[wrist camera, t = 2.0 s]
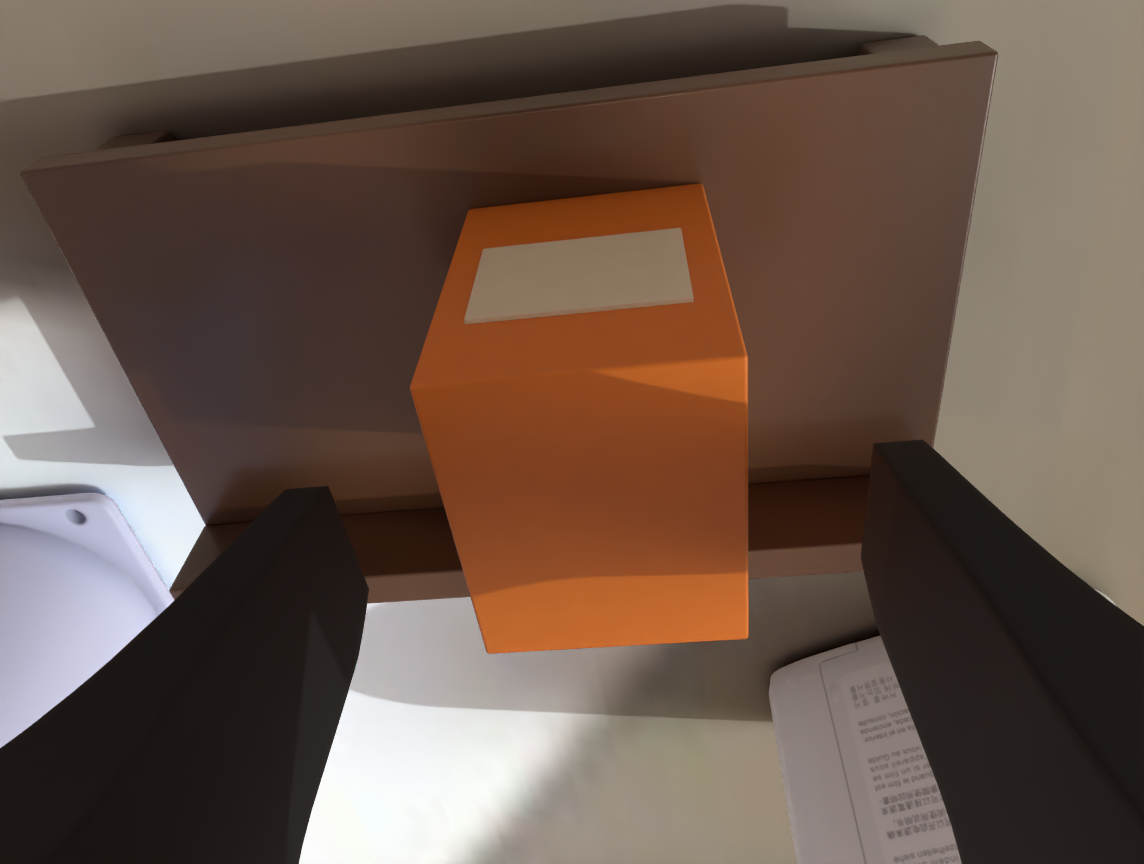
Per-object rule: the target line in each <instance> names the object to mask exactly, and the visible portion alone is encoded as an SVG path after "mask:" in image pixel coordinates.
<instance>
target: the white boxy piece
mask: <svg viewBox="0 0 1144 864" xmlns="http://www.w3.org/2000/svg"><path fill="white" fill-rule="evenodd" d="M1093 589H1095V588H1093ZM1095 590H1096V591H1097V592H1098V593H1100V594H1101V595H1102V596H1104V597H1105V598H1106V599H1108V600H1109V601H1110V602H1112V603H1113V604H1114V605H1115V603H1114V602H1113V601H1112V600H1111V599H1110V598H1109V597H1108V596H1106V595H1105V594H1103V593H1102V592H1100V591H1099V590H1097V589H1095ZM1115 606H1116V605H1115ZM769 700H770V706H771V712H772V718H773V724H774V730H775V737H776V743H777V749H778V755H779V761H780V767H781V773H782V779H783V785H784V791H785V797H786V802H787V808H788V813H789V819H790V826H791V832H792V838H793V844H794V850H795V856H796V862H797V864H962V863H961V859H960V855H959V852H958V848H957V844H956V841H955V837H954V834H953V830H952V826H951V823H950V820H949V817H948V814H947V811H946V808H945V805H944V802H943V799H942V796H941V793H940V790H939V787H938V785H937V782H936V780H935V777H934V774H933V772H932V769H931V767H930V764H929V761H928V759H927V756H926V754H925V751H924V748H923V746H922V743H921V741H920V738H919V735H918V733H917V730H916V728H915V725H914V722H913V720H912V717H911V715H910V712H909V709H908V707H907V704H906V702H905V699H904V696H903V694H902V691H901V689H900V686H899V683H898V681H897V678H896V675H895V673H894V670H893V668H892V665H891V662H890V660H889V657H888V654H887V652H886V649H885V646H884V644H883V641H882V638H881V636H877V637H873V638H870V639H867V640H863V641H860V642H856V643H852V644H848V645H845V646H842V647H839V648H836V649H832V650H829V651H826V652H823V653H820V654H817V655H814V656H811V657H807V658H805V659H802V660H799V661H797V662H794V663H792V664H789V665H787V666H785V667H782V668H780V669H778V670H777V671H775V672H774V673H773V674H772V676H771V678H770V687H769Z"/></svg>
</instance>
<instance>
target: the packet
mask: <svg viewBox="0 0 1144 864" xmlns="http://www.w3.org/2000/svg"><path fill="white" fill-rule="evenodd" d="M410 391H411V395H412V398H413V401H414V405H415V408H416V412H417V415H418V419H419V422H420V425H421V429H422V432H423V436H424V439H425V443H426V446H427V449H428V453H429V456H430V460H431V463H432V466H433V470H434V473H435V477H436V480H437V484H438V487H439V490H440V494H441V497H442V501H443V504H444V508H445V511H446V514H447V518H448V521H449V525H450V528H451V532H452V535H453V538H454V542H455V545H456V549H457V552H458V556H459V559H460V562H461V566H462V569H463V573H464V576H465V580H466V583H467V586H468V590H469V593H470V597H471V600H472V604H473V607H474V610H475V614H476V617H477V621H478V624H479V628H480V631H481V634H482V638H483V641H484V645H485V648H486V651H487V653H489V654H491V653H509V652H526V651H543V650H561V649H578V648H595V647H613V646H630V645H648V644H665V643H682V642H700V641H717V640H735V639H746V638H748V356H747V352H746V348H745V345H744V341H743V337H742V333H741V329H740V325H739V321H738V318H737V314H736V310H735V306H734V302H733V298H732V295H731V291H730V287H729V283H728V279H727V275H726V272H725V268H724V264H723V260H722V256H721V252H720V248H719V245H718V241H717V237H716V233H715V229H714V225H713V222H712V218H711V214H710V210H709V206H708V202H707V199H706V195H705V191H704V187H703V185H702V184H700V183H699V184H690V185H682V186H673V187H664V188H655V189H646V190H637V191H628V192H619V193H610V194H601V195H592V196H583V197H574V198H565V199H556V200H547V201H538V202H529V203H520V204H511V205H503V206H494V207H485V208H476V209H470V210H468V213H467V216H466V219H465V222H464V225H463V228H462V231H461V234H460V237H459V240H458V243H457V246H456V249H455V252H454V255H453V258H452V261H451V264H450V267H449V270H448V273H447V276H446V279H445V282H444V285H443V288H442V291H441V294H440V297H439V300H438V303H437V306H436V309H435V313H434V316H433V319H432V322H431V325H430V328H429V331H428V334H427V337H426V340H425V343H424V346H423V349H422V352H421V355H420V358H419V361H418V364H417V367H416V370H415V373H414V376H413V379H412V382H411V385H410Z"/></svg>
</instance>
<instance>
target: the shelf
mask: <svg viewBox="0 0 1144 864" xmlns="http://www.w3.org/2000/svg"><path fill="white" fill-rule="evenodd" d="M997 59H998V52H997V51H995V50H994V49H992V48H990V47H989V46H987V45H986V44H984V43H983V42H981V41H973V42H965V43H957V44H949V45H941V46H939V45H938V44H936V43H935V42H934V41H932V40H931V39H929V38H928V37H927V36H924V35H923V36H915V37H907V38H899V39H891V40H883V41H875V42H867V43H863V44H861V45H860V48H859V56H853V57H845V58H837V59H829V60H821V61H813V62H805V63H797V64H789V65H781V66H772V67H764V68H756V69H748V70H740V71H732V72H724V73H716V74H708V75H700V76H692V77H684V78H676V79H668V80H660V81H652V82H644V83H636V84H628V85H620V86H612V87H604V88H596V89H588V90H580V91H572V92H564V93H556V94H548V95H540V96H532V97H524V98H516V99H507V100H499V101H491V102H483V103H475V104H467V105H459V106H451V107H443V108H435V109H427V110H419V111H411V112H403V113H395V114H387V115H379V116H371V117H363V118H355V119H347V120H339V121H331V122H323V123H315V124H307V125H299V126H291V127H283V128H275V129H267V130H259V131H250V132H242V133H234V134H226V135H218V136H210V137H202V138H194V139H186V140H178V141H174V139H173V136H172V134H171V132H170V131H169V130H164V131H157V132H149V133H141V134H133V135H125V136H117V137H114V138H112V139H111V140H109V141H108V142H106V143H105V144H103V145H102V146H101V147H99V148H98V149H96V150H95V151H90V152H82V153H74V154H66V155H58V156H50V157H44V158H42V159H40V160H39V161H37V162H36V163H34V164H32V165H31V166H29V167H28V168H26V169H25V170H23V171H22V172H21V177H22V179H23V180H24V182H25V184H26V186H27V188H28V190H29V192H30V194H31V196H32V197H33V199H34V201H35V203H36V205H37V207H38V209H39V211H40V213H41V214H42V216H43V218H44V220H45V222H46V224H47V226H48V228H49V230H50V231H51V233H52V235H53V237H54V239H55V241H56V243H57V245H58V247H59V249H60V250H61V252H62V254H63V256H64V258H65V260H66V262H67V264H68V266H69V267H70V269H71V271H72V273H73V275H74V277H75V279H76V281H77V283H78V284H79V286H80V288H81V290H82V292H83V294H84V296H85V298H86V300H87V301H88V303H89V305H90V307H91V309H92V311H93V313H94V315H95V317H96V319H97V320H98V322H99V324H100V326H101V328H102V330H103V332H104V334H105V336H106V337H107V339H108V341H109V343H110V345H111V347H112V349H113V351H114V353H115V354H116V356H117V358H118V360H119V362H120V364H121V366H122V368H123V370H124V371H125V373H126V375H127V377H128V379H129V381H130V383H131V385H132V387H133V389H134V390H135V392H136V394H137V396H138V398H139V400H140V402H141V404H142V406H143V407H144V409H145V411H146V413H147V415H148V417H149V419H150V421H151V423H152V424H153V426H154V428H155V430H156V432H157V434H158V436H159V438H160V440H161V441H162V443H163V445H164V447H165V449H166V451H167V453H168V455H169V457H170V459H171V460H172V462H173V464H174V466H175V468H176V470H177V472H178V474H179V476H180V477H181V479H182V481H183V483H184V485H185V487H186V489H187V491H188V493H189V494H190V496H191V498H192V500H193V502H194V504H195V506H196V508H197V510H198V512H199V513H200V515H201V517H202V519H203V521H204V523H205V525H206V526H205V527H204V528H203V530H202V532H201V534H200V536H199V537H198V539H197V541H196V543H195V545H194V546H193V548H192V550H191V552H190V554H189V556H188V557H187V559H186V561H185V563H184V565H183V566H182V568H181V570H180V572H179V574H178V575H177V577H176V579H175V581H174V583H173V584H172V586H171V588H170V593H171V595H172V597H173V598H174V600H175V599H176V598H177V597H178V596H179V595H180V594H181V593H182V592H183V591H184V590H185V589H186V588H187V587H188V586H189V585H190V584H191V583H192V582H193V581H194V580H195V579H196V578H197V577H198V576H199V575H200V574H201V573H202V572H203V571H204V570H205V569H206V568H207V567H208V566H209V565H210V564H211V563H212V562H213V561H214V560H215V559H216V558H217V557H218V556H219V555H220V554H221V553H222V552H223V551H224V550H225V549H226V548H227V547H228V546H229V545H230V544H231V543H232V542H233V541H234V540H235V539H236V538H237V537H238V536H239V535H240V534H241V533H242V532H243V531H244V530H245V529H246V528H247V527H248V526H249V525H250V524H251V523H252V521H253V520H254V519H255V518H256V517H257V516H258V515H259V514H260V513H261V512H262V511H263V510H264V509H265V508H266V507H267V506H268V505H269V504H270V503H271V502H272V501H274V500H275V499H276V498H277V497H278V496H279V495H280V494H281V493H282V492H283V491H284V490H285V489H294V488H307V487H320V486H329V489H330V491H331V494H332V496H333V499H334V501H335V504H336V507H337V509H338V512H339V514H340V517H341V519H342V522H343V524H344V527H345V529H346V532H347V534H348V537H349V539H350V542H351V545H352V547H353V550H354V552H355V555H356V557H357V560H358V562H359V565H360V567H361V570H362V572H363V575H364V577H365V580H366V582H367V585H368V588H369V594H368V601H367V603H382V602H398V601H413V600H429V599H444V598H460V597H470V593H469V590H468V586H467V583H466V580H465V576H464V573H463V569H462V566H461V562H460V559H459V556H458V552H457V549H456V545H455V542H454V538H453V535H452V532H451V528H450V525H449V521H448V518H447V514H446V511H445V508H444V504H443V501H442V497H441V494H440V490H439V487H438V484H437V480H436V477H435V473H434V470H433V466H432V463H431V460H430V456H429V453H428V449H427V446H426V443H425V439H424V436H423V432H422V429H421V425H420V422H419V419H418V415H417V412H416V408H415V405H414V401H413V398H412V395H411V391H410V385H411V382H412V379H413V376H414V373H415V370H416V367H417V364H418V361H419V358H420V355H421V352H422V349H423V346H424V343H425V340H426V337H427V334H428V331H429V328H430V325H431V322H432V319H433V316H434V313H435V309H436V306H437V303H438V300H439V297H440V294H441V291H442V288H443V285H444V282H445V279H446V276H447V273H448V270H449V267H450V264H451V261H452V258H453V255H454V252H455V249H456V246H457V243H458V240H459V237H460V234H461V231H462V228H463V225H464V222H465V219H466V216H467V213H468V210H470V209H476V208H485V207H494V206H503V205H511V204H520V203H529V202H538V201H547V200H556V199H565V198H574V197H583V196H592V195H601V194H610V193H619V192H628V191H637V190H646V189H655V188H664V187H673V186H682V185H690V184H699V183H700V184H702V185H703V187H704V191H705V195H706V199H707V202H708V206H709V210H710V214H711V218H712V222H713V225H714V229H715V233H716V237H717V241H718V245H719V248H720V252H721V256H722V260H723V264H724V268H725V272H726V275H727V279H728V283H729V287H730V291H731V295H732V298H733V302H734V306H735V310H736V314H737V318H738V321H739V325H740V329H741V333H742V337H743V341H744V345H745V348H746V352H747V356H748V579H754V578H769V577H785V576H800V575H816V574H831V573H847V572H862V571H864V570H863V566H862V561H861V550H862V541H863V532H864V523H865V514H866V505H867V496H868V487H869V478H870V469H871V460H872V451H873V443H884V442H897V441H910V440H924V441H925V442H926V443H928V444H929V445H930V446H931V447H932V448H933V446H934V440H935V434H936V428H937V422H938V416H939V410H940V403H941V397H942V391H943V385H944V379H945V373H946V367H947V361H948V355H949V349H950V343H951V337H952V331H953V325H954V319H955V313H956V307H957V301H958V295H959V289H960V283H961V277H962V270H963V264H964V258H965V252H966V246H967V240H968V234H969V228H970V222H971V216H972V210H973V204H974V198H975V192H976V186H977V180H978V174H979V168H980V162H981V156H982V150H983V143H984V137H985V131H986V125H987V119H988V113H989V107H990V101H991V95H992V89H993V83H994V77H995V71H996V65H997Z"/></svg>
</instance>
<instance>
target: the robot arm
mask: <svg viewBox="0 0 1144 864" xmlns="http://www.w3.org/2000/svg"><path fill="white" fill-rule="evenodd" d="M78 511H79V512H78ZM80 512H81V513H80ZM861 561H862V566H863V570H864V574H865V579H866V583H867V587H868V591H869V596H870V600H871V604H872V607H873V611H874V615H875V619H876V623H877V627H878V630H879V633H880V636H881V638H882V641H883V644H884V646H885V649H886V652H887V654H888V657H889V660H890V662H891V665H892V668H893V670H894V673H895V675H896V678H897V681H898V683H899V686H900V689H901V691H902V694H903V696H904V699H905V702H906V704H907V707H908V709H909V712H910V715H911V717H912V720H913V722H914V725H915V728H916V730H917V733H918V735H919V738H920V741H921V743H922V746H923V748H924V751H925V754H926V756H927V759H928V761H929V764H930V767H931V769H932V772H933V774H934V777H935V780H936V782H937V785H938V787H939V790H940V793H941V796H942V799H943V802H944V805H945V808H946V811H947V814H948V817H949V820H950V823H951V826H952V830H953V834H954V837H955V841H956V844H957V848H958V852H959V855H960V859H961V863H962V864H1144V626H1143V625H1141V624H1140V623H1138V622H1137V621H1136V620H1134V619H1133V618H1131V617H1130V616H1129V615H1127V614H1126V613H1125V612H1123V611H1122V610H1121V609H1119V608H1118V607H1117V606H1115V605H1114V604H1113V603H1112V602H1110V601H1109V600H1108V599H1106V598H1105V597H1104V596H1102V595H1101V594H1100V593H1098V592H1097V591H1096V590H1095V589H1093V588H1092V587H1091V586H1089V585H1088V584H1087V583H1085V582H1084V581H1083V580H1082V579H1080V578H1079V577H1078V576H1076V575H1075V574H1074V573H1073V572H1072V571H1070V570H1069V569H1068V568H1067V567H1065V566H1064V565H1063V564H1062V563H1060V562H1059V561H1058V560H1057V559H1056V558H1055V557H1053V556H1052V555H1051V554H1050V553H1049V552H1048V551H1046V550H1045V549H1044V548H1043V547H1042V546H1040V545H1039V544H1038V543H1037V542H1036V541H1035V540H1033V539H1032V538H1031V537H1030V536H1029V535H1028V534H1026V533H1025V532H1024V531H1023V530H1022V529H1021V528H1019V527H1018V526H1017V525H1016V524H1015V523H1014V522H1013V521H1011V520H1010V519H1009V518H1008V517H1007V516H1006V515H1005V514H1004V513H1003V512H1001V511H1000V510H999V509H998V508H997V507H996V506H995V505H994V504H993V503H992V502H990V501H989V500H988V499H987V498H986V497H985V496H984V495H983V494H982V493H981V492H979V491H978V490H977V489H976V488H975V487H974V486H973V485H972V484H971V483H970V482H969V481H968V480H967V479H965V478H964V477H963V476H962V475H961V474H960V473H959V472H958V471H957V470H956V469H955V468H954V467H953V466H952V465H950V464H949V463H948V462H947V461H946V460H945V459H944V458H943V457H942V456H941V455H940V454H939V453H938V452H936V451H935V450H934V449H933V448H932V447H931V446H930V445H929V444H928V443H926V442H925V441H924V440H910V441H897V442H884V443H873V451H872V460H871V469H870V478H869V487H868V496H867V505H866V514H865V523H864V532H863V541H862V550H861ZM368 594H369V588H368V585H367V582H366V580H365V577H364V575H363V572H362V570H361V567H360V565H359V562H358V560H357V557H356V555H355V552H354V550H353V547H352V545H351V542H350V539H349V537H348V534H347V532H346V529H345V527H344V524H343V522H342V519H341V517H340V514H339V512H338V509H337V507H336V504H335V501H334V499H333V496H332V494H331V491H330V489H329V486H320V487H307V488H294V489H285V490H284V491H283V492H282V493H281V494H280V495H279V496H278V497H277V498H276V499H275V500H274V501H272V502H271V503H270V504H269V505H268V506H267V507H266V508H265V509H264V510H263V511H262V512H261V513H260V514H259V515H258V516H257V517H256V518H255V519H254V520H253V521H252V523H251V524H250V525H249V526H248V527H247V528H246V529H245V530H244V531H243V532H242V533H241V534H240V535H239V536H238V537H237V538H236V539H235V540H234V541H233V542H232V543H231V544H230V545H229V546H228V547H227V548H226V549H225V550H224V551H223V552H222V553H221V554H220V555H219V556H218V557H217V558H216V559H215V560H214V561H213V562H212V563H211V564H210V565H209V566H208V567H207V568H206V569H205V570H204V571H203V572H202V573H201V574H200V575H199V576H198V577H197V578H196V579H195V580H194V581H193V582H192V583H191V584H190V585H189V586H188V587H187V588H186V589H185V590H184V591H183V592H182V593H181V594H180V595H179V596H178V597H177V598H176V599H175V600H174V599H173V597H172V595H171V594H170V592H169V590H168V589H167V587H166V585H165V584H164V582H163V581H162V579H161V577H160V576H159V574H158V572H157V571H156V569H155V567H154V566H153V564H152V562H151V561H150V559H149V557H148V556H147V554H146V552H145V551H144V549H143V547H142V546H141V544H140V542H139V541H138V539H137V537H136V536H135V534H134V532H133V531H132V529H131V527H130V526H129V524H128V522H127V521H126V519H125V517H124V516H123V514H122V513H121V511H120V509H119V508H118V506H117V504H116V503H115V502H114V501H113V500H112V499H111V498H109V497H108V496H106V495H103V494H100V493H80V494H67V495H55V496H43V497H30V498H18V499H6V500H0V864H299V859H300V854H301V849H302V845H303V841H304V837H305V833H306V829H307V826H308V822H309V818H310V814H311V811H312V807H313V804H314V801H315V798H316V794H317V791H318V788H319V785H320V781H321V778H322V775H323V772H324V768H325V765H326V762H327V759H328V755H329V752H330V749H331V746H332V743H333V739H334V736H335V733H336V730H337V726H338V723H339V720H340V717H341V713H342V710H343V707H344V704H345V700H346V697H347V693H348V690H349V687H350V683H351V680H352V677H353V673H354V670H355V666H356V663H357V659H358V655H359V650H360V644H361V639H362V633H363V628H364V621H365V614H366V608H367V601H368Z"/></svg>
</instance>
